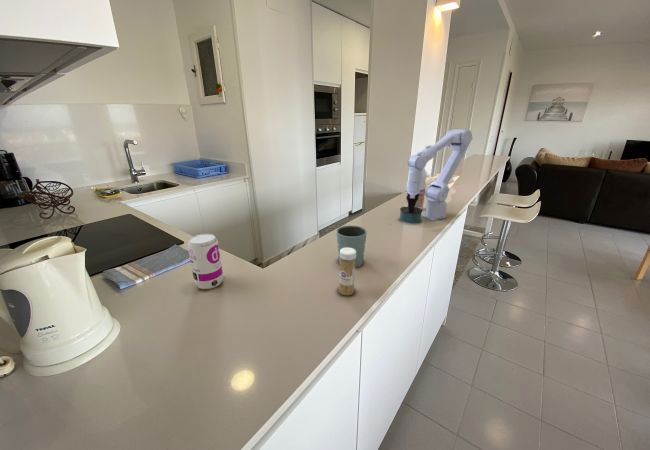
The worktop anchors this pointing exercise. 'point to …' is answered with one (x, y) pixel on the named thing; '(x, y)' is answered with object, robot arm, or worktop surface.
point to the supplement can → (205, 261)
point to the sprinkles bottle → (347, 271)
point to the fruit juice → (422, 191)
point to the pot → (410, 217)
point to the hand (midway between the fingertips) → (411, 209)
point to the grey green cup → (352, 241)
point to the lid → (415, 211)
